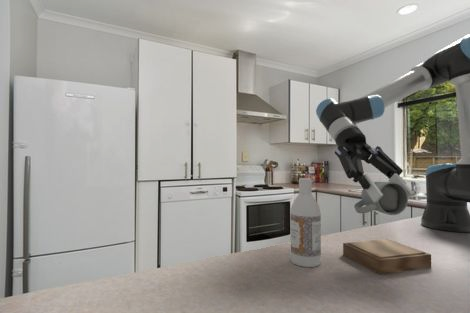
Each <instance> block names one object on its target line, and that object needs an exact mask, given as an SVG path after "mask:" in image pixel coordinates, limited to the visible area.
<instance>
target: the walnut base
mask: <svg viewBox="0 0 470 313" xmlns="http://www.w3.org/2000/svg"><path fill="white" fill-rule="evenodd" d="M342 255H343V256H345V257H347V258H349V259H350V260H353V261H354V262H356V263H358V264H360V265H362V266H364V267H365V268H367V269H369V270H371V271H373V272H375V273H377V274H379V275H380V276H381V275H388V274H395V273H402V272H411V271H418V270H419V271H420V270H426V269H432V254H431V253H429V252H426V251H423V250H419V249H417V248H414V247H411V246H409V245H406V244H403V243H399V242H397V241H395V240H391V239H388V238H383V239H373V240H361V241H360V240H359V241H352V242H351V241H349V242H342Z"/></svg>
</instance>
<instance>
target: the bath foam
mask: <svg viewBox="0 0 470 313" xmlns="http://www.w3.org/2000/svg"><path fill="white" fill-rule="evenodd" d="M312 181H313V180H312V178H308V177H304V178H303V177H302V178H301V177H299V179H298V192H299V193H298V194H297V195H296V198H295V199H294V200H293V202H292V205H291V208H290V261H291V263H293V264H295V265H297V266H299V267H303V268H315V267H318V266H319V265H321V262H322V260H321V259H322V256H321V254H322V242H321V241H322V240H321V239H322V236H321V235H322V229H321V226H322V224H321V222H322V221H321V218H322V217H321V216H322V214H321V209H320V205H319V204H318V201H317V200H316V198H315V197H314V195H313V194H312V190H313V189H312V188H313V187H312V186H313V184H312V183H313V182H312Z"/></svg>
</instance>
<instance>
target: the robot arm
mask: <svg viewBox="0 0 470 313" xmlns="http://www.w3.org/2000/svg"><path fill="white" fill-rule="evenodd" d="M447 82H449V84H451V85H453V86H455V92H456V93H455V95H456V96H455V97H456V106H457V119H458V131H459V132H458V133H459V144H460V147H459V148H460V159H459V160H458V161H456V162H455V163H439V164H434V165H430V166H427V168H426V170H425V184H426V185H425V188H426V189H425V190H426V195H425V196H426V205H425V208H424V210H423V213H422V216H421V218H420V220H421V222H420V224H421V225H422V226H424V227H425V228H430V229H433V230H440V231H446V232H455V233H470V212H469V209H468V204H469V203H470V34H466V35H465V36H463V37H462V38H460V39H458V40H457V41H454V42H453V43H451V44H450V45H447V46H446V47H444V48H442V49H440V50H439V51H436V52H435V53H434V54H432V55H431V56H429V57H428V58H427V59H426V60H424V61H422V62H420V63H419V64H417V65H415V66H413V67H412V68H411V69H410V70H409V72H408V73H406V74H403V75H401V76H399V77H398V78H395V79H394V80H392V81H389V82H388V83H386V84H385V85H382V86H380V87H378V88H376V89H375V90H373V91H370V92H369V93H367V94H365V95H363V96H361V97H359V98H355V99H352V100H347V101H343V102H338V101H336V99H334V98H326V99H324V100H322V101H321V102H319V104H318V105H317V107H316V110H315V113H316V116H317V118H318V119H319V122H320V123H321V125H323V127H324V128H325V130H326V131H327V132H328V134H329V135H330V136H331V139H333V141H334V142H335V144H336V146H337V148H336V150H335V151H334V154H335V155H336V156H337V158H338V159H339V161H340V164H341V166H342V169H343V171H344V173H345V175H346V177H347V178H348V179H350V180H351V179H352V178H353V179H352V181H353V182H354V183H359V185H360V186H361V188H363V189H365V190H366V191H367V193H368V194H369V196H370V197H371V199H372V200H373V202H378V200H379V199H380V198H381V197H382V196H383V194H382V193H381V191H380V190H379V189H378V187H377V186H376V184H375V183H374V182H375V181H374V180H373V179H372V177H371V176H370V175H369V174H368V173H365V172H364V168H363V163H362V161H364V162H365V163H366V164H371V165H372V166H373V167H374V168H375V169H377V170H378V171H379V172H380V173H382V174H383V175H384V176H386V177H387V178H388V181H387V182H396V183H399V184H401V185H402V186H403V187H404V188H405V190H406V192H407V195H408V200H410V199H411V198H412V197H413V196H414V195H415V194H414V192H413V191H412V190H411V189H410V187H409V186H408V185H407V183H406V182H405V181H404V179H403V178H402V177H401V176H400V175H401V174H402V173H403V172H404V170H403V169H402V167H400V166H399V165H398V164H397V163H396V162H395V161H394V160H393V159H391V158H390V157H389V156H388V155H387V154H386V153H385V152H384V151H383V149H382V147H381V146H379V145H377V146H376V147H371V145H370V144H368V143H367V140H366V139H367V138H366V135H365V134H364V132H362V131H361V129H360V128H359V127H358V125H357V124H360V123H363V122H366V121H371V120H375V119H378V118H380V117H382V116H383V115H384V113H385V108H387V107H390V106H391V105H393V104H395V103H398V101H401V100H402V99H405V98H407V97H409V96H410V95H412V94H415V93H417V92H419V91H427V90H428V89H430V88H432V87H435V86H438V85H441V84H444V83H447ZM363 189H362V190H363Z"/></svg>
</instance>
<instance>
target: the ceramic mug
mask: <svg viewBox="0 0 470 313" xmlns="http://www.w3.org/2000/svg"><path fill="white" fill-rule="evenodd" d="M373 182H374V183H375V184H376V186H377V187H378V189H379V190H380V191H381V193H382V194H383V196H382V197H381V198H380V199H379V200H378V202H373V200H372V199H371V197H370V196H369V194H368V193H367V191H366V190H365V189H362V190H361V194H360V196H361V199H360V200H359V201H358V202H355V203H354V205H353V206H354V209H355V212H356V213H358V214H367V213H371V212H374V211H375V212H376V211H377V212H379V213H382V214H384V215H388V216H389V215H390V216H397V215H399V214H401V213H403V212H404V211H405V210H406V208H407V206H408V203H409V199H408V195H407V192H406V190H405V188H404V187H403V186H402V185H401V184H399V183H396V182H389V181H373Z"/></svg>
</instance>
